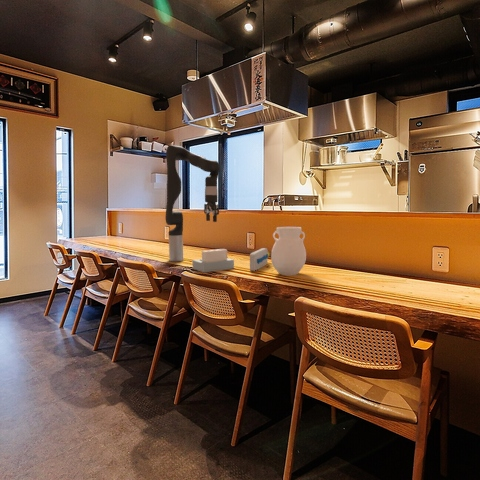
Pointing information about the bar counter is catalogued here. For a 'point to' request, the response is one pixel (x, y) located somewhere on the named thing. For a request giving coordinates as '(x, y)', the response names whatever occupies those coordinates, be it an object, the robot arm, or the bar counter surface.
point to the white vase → (288, 250)
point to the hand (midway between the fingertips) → (211, 221)
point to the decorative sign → (258, 259)
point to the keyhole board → (212, 265)
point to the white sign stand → (214, 255)
